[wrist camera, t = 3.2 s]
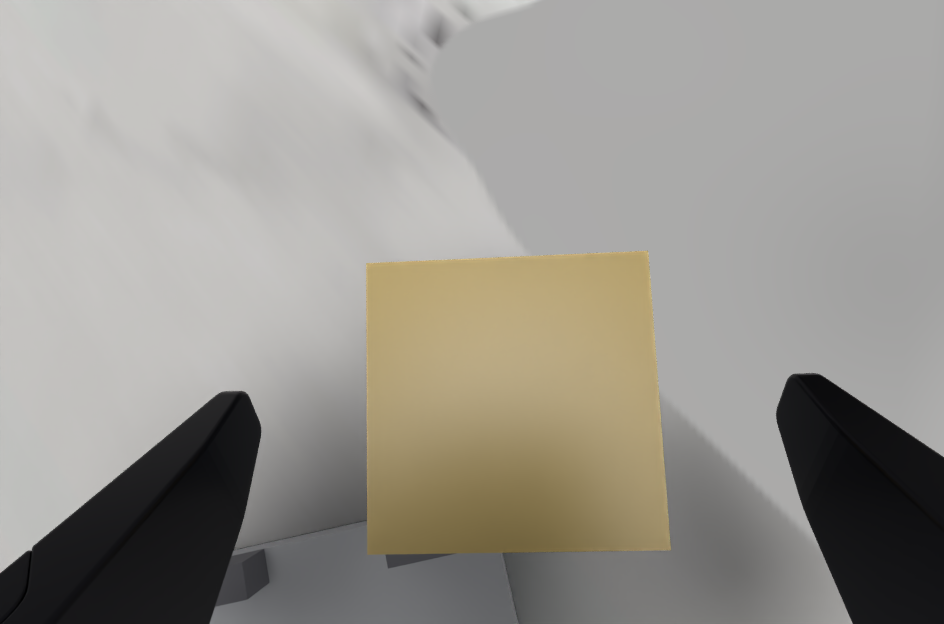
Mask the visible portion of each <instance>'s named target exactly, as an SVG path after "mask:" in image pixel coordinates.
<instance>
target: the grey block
mask: <svg viewBox="0 0 944 624" xmlns="http://www.w3.org/2000/svg"><path fill="white" fill-rule="evenodd" d="M648 257H649V256H648V251H635V252H612V253H588V254H568V255H567V254H566V255H543V256H520V257H498V258H475V259H452V260H429V261H407V262H384V263H366V315H367V555H383V554H451V553H518V552H586V551H654V550H671V545H670V532H669V518H668V505H667V492H666V479H665V466H664V453H663V440H662V427H661V413H660V400H659V387H658V375H657V361H656V349H655V336H654V323H653V309H652V295H651V282H650V269H649V258H648Z"/></svg>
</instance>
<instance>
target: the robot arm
mask: <svg viewBox="0 0 944 624" xmlns="http://www.w3.org/2000/svg"><path fill="white" fill-rule="evenodd" d="M776 419H777V424H778V428H779V431H780V434H781V437H782V441H783V444H784V447H785V451H786V454H787V457H788V461H789V464H790V467H791V471H792V474H793V477H794V480H795V484H796V487H797V490H798V494H799V496H800V500H801V503H802V506H803V509H804V511H805V513H806V516H807V518H808V521H809V523H810V526H811V528H812V530H813V533H814V535H815V537H816V540H817V542H818V544H819V547H820V549H821V551H822V554H823V556H824V558H825V560H826V563H827V565H828V567H829V570H830V572H831V574H832V577H833V579H834V581H835V584H836V586H837V588H838V590H839V593H840V595H841V597H842V600H843V602H844V604H845V607H846V609H847V611H848V614H849V616H850V618H851V621H852V623H853V624H944V457H943V456H941V455H940V454H938V453H937V452H935V451H934V450H932V449H931V448H929V447H928V446H926V445H925V444H924V443H922V442H921V441H919V440H917V439H916V438H915V437H913V436H912V435H910V434H909V433H907V432H905V431H904V430H902V429H901V428H899V427H898V426H897V425H895V424H894V423H892V422H891V421H889V420H888V419H886V418H885V417H883V416H882V415H880V414H879V413H877V412H876V411H874V410H873V409H871V408H870V407H868V406H867V405H865V404H864V403H862V402H861V401H859V400H858V399H856V398H855V397H853V396H852V395H850V394H849V393H847V392H846V391H844V390H843V389H841V388H840V387H838V386H837V385H835V384H834V383H832V382H831V381H829V380H828V379H826V378H825V377H823V376H822V375H820V374H816V373H806V374H793V375H791V376H790V377H789V378H788V379H787V382H786V384H785V387H784V390H783V393H782V396H781V398H780V401H779V404H778V407H777V411H776ZM260 438H261V425H260V421H259V419H258V417H257V414H256V412H255V409H254V407H253V405H252V402H251V400H250V397H249V396H248V394H247V393H246V392H244V391H224V392H221V393H219V394H217V395H216V396H215V397H214V398H212V399H211V400H210V401H209V402H207V403H206V404H205V405H204V406H203V407H201V408H200V409H199V410H198V411H197V412H195V413H194V414H193V415H192V416H191V417H189V418H188V419H187V420H186V421H184V422H183V423H182V424H181V425H180V426H178V427H177V428H176V429H175V430H174V431H172V432H171V433H170V434H169V435H167V436H166V437H165V438H164V439H163V440H161V441H160V442H159V443H158V444H157V445H155V446H154V447H153V448H152V449H151V450H149V451H148V452H147V453H146V454H144V455H143V456H142V457H141V458H140V459H138V460H137V461H136V462H135V463H134V464H132V465H131V466H130V467H129V468H127V469H126V470H125V471H124V472H123V473H121V474H120V475H119V476H118V477H117V478H115V479H114V480H113V481H112V482H110V483H109V484H108V485H107V486H106V487H104V488H103V489H102V490H101V491H100V492H98V493H97V494H96V495H95V496H94V497H92V498H91V499H90V500H89V501H87V502H86V503H85V504H84V505H83V506H81V507H80V508H79V509H78V510H77V511H75V512H74V513H73V514H72V515H70V516H69V517H68V518H67V519H66V520H64V521H63V522H62V523H61V524H60V525H58V526H57V527H56V528H55V529H53V530H52V531H51V532H50V533H49V534H47V535H46V536H45V537H44V538H43V539H41V540H40V541H39V542H38V543H36V544H35V545H34V546H33V547H32V551H27V552H25V553H24V554H23V555H22V556H21V557H19V558H18V559H17V560H16V561H14V562H13V563H12V564H11V565H10V566H8V567H7V568H6V569H5V570H4V571H2V572H1V573H0V624H210V621H211V618H212V615H213V612H214V609H215V606H216V603H217V599H218V596H219V593H220V590H221V587H222V584H223V581H224V578H225V575H226V572H227V569H228V566H229V563H230V560H231V557H232V554H233V550H234V547H235V544H236V541H237V538H238V535H239V532H240V529H241V525H242V522H243V519H244V515H245V510H246V506H247V501H248V497H249V492H250V487H251V482H252V477H253V472H254V467H255V463H256V458H257V453H258V448H259V443H260Z"/></svg>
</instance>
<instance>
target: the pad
mask: <svg viewBox="0 0 944 624" xmlns="http://www.w3.org/2000/svg"><path fill="white" fill-rule="evenodd" d="M210 624H518V619H517V615H516V610H515V606H514V601H513V597H512V592H511V588H510V583H509V579H508V574H507V570H506V565H505V561H504V556H503V553H451V554H383V555H367V521H363V522H358V523H354V524H349V525H345V526H340V527H336V528H331V529H327V530H322V531H318V532H313V533H309V534H305V535H300V536H296V537H291V538H287V539H282V540H278V541H273V542H269V543H264V544H260V545H255V546H251V547H246V548H242V549H237V550H233V554H232V557H231V560H230V563H229V566H228V569H227V572H226V575H225V578H224V581H223V584H222V587H221V590H220V593H219V596H218V599H217V603H216V606H215V609H214V612H213V615H212V618H211V621H210Z"/></svg>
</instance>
